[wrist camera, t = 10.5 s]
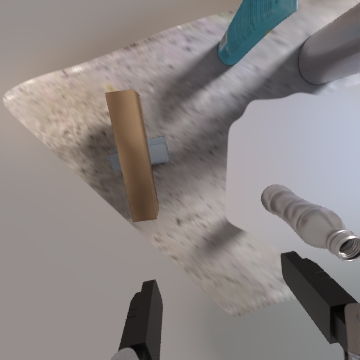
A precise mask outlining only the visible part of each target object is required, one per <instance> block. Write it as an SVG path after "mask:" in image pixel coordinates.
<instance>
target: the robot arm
mask: <svg viewBox="0 0 360 360" xmlns="http://www.w3.org/2000/svg"><path fill="white" fill-rule="evenodd" d="M299 69H300V72H301V74H302V76H303V77H304V79H306V80H307V81H308V82H310V83H313V84H323V83H327V82H330V81H334V80H337V79H340V78H344V77H347V76H350V75H353V74H357V73H360V3H359V4H357V5H356V6H354V7H353V8H351V9H350V10H348V11H347V12H345V13H344V14H342V15H341V16H339V17H338V18H337V19H335V20H334V21H332V22H331V23H329V24H328V25H326V26H325V27H323V28H322V29H320V30H319V31H317V32H316V33H314V34H313V35H312V36H310V37H309V38H308V40H307V41H306V42H305V44H304V45H303V47H302V49H301V51H300V55H299ZM281 266H282V275H283V278H284V280H285V282H286V284H287V285H288V287H289V288H290V290H291V291H292V292H293V294H294V295H295V296H296V298H297V299H298V301H299V302H300V303H301V305H302V306H303V308H304V309H305V310H306V312H307V313H308V314H309V316H310V317H311V319H312V320H313V321H314V323H315V324H316V325H317V327H318V328H319V330H320V331H321V332H322V334H323V335H324V336H325V338H326V339H327V341H328V342H329V343H330V344H332V343H337V342H338V343H339V344H340V345H341V346H342V348H343V352H344V353H343V354H344V360H360V303H358V302H357V301H356V300H355V299H354V298H353V297H352V296H351V295H349V294H348V293H347V292H346V291H345V290H344V289H343V288H342V287H341V286H340V285H339V284H338V283H337V282H336V281H335V280H334V279H332V278H331V277H330V276H329V275H328V274H327V273H326V272H324V270H323V269H322V268H321V267H320V266H319V265H318V264H317V263H314V262H313V261H311V260H309V259H307V258H305V259H302V258H301V257H300V256H299V255H298V254H297V253H296V252H294V251H291V252H287V253H282V254H281ZM162 312H163V304H162V298H161V295H160V292H159V288H158V285H157V282H156V280H150V281H145V282H143V285H142V290H141V292H138V293H136V294H135V295H134V297H133V299H132V300H131V303H130V307H129V312H128V315H127V319H126V322H125V327H124V331H123V334H122V338H121V343H120V347H119V350H118V352H117V353H116V354H115V355H114V356H113V357H112V359H111V360H160V344H161V326H162Z"/></svg>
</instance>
